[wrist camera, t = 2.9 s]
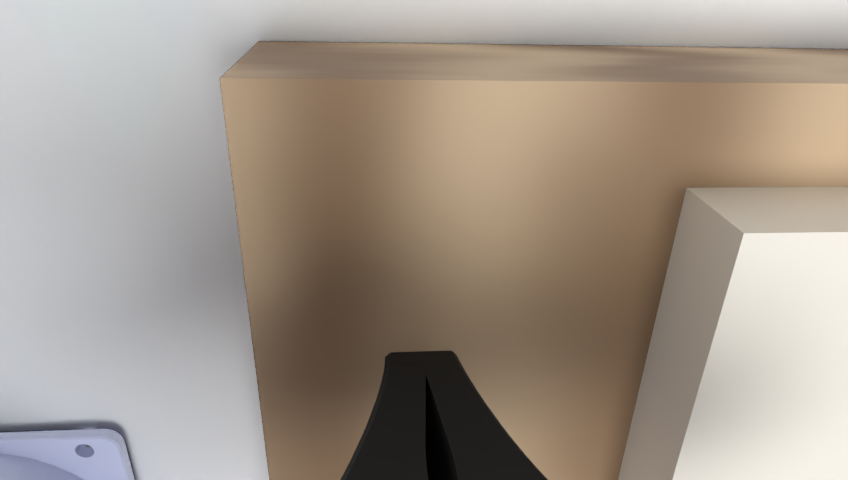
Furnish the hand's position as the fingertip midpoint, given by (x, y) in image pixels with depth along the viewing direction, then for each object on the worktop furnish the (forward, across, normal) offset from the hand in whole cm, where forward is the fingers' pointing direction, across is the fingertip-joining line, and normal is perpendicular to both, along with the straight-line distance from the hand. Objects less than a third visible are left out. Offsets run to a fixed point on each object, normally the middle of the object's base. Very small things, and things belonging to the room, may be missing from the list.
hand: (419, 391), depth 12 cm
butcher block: (+5, -5, +2) cm, 7 cm away
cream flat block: (+1, -8, 0) cm, 8 cm away
